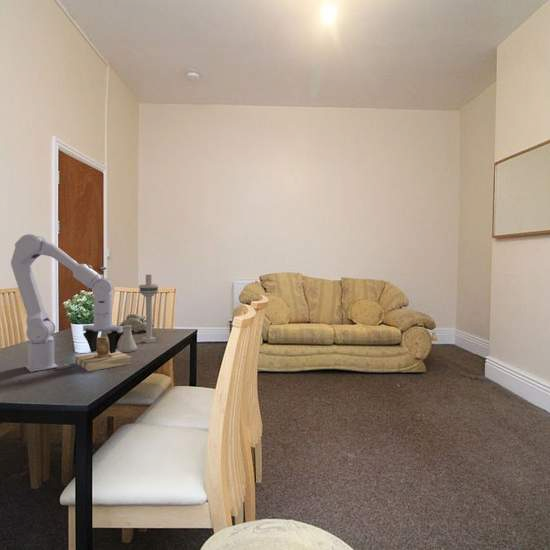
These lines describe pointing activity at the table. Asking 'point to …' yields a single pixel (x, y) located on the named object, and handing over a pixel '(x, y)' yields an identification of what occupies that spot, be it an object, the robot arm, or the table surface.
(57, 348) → the table surface
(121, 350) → the flask
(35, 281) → the robot arm
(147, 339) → the model tower
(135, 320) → the mineral
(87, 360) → the birch board
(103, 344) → the oak peg
